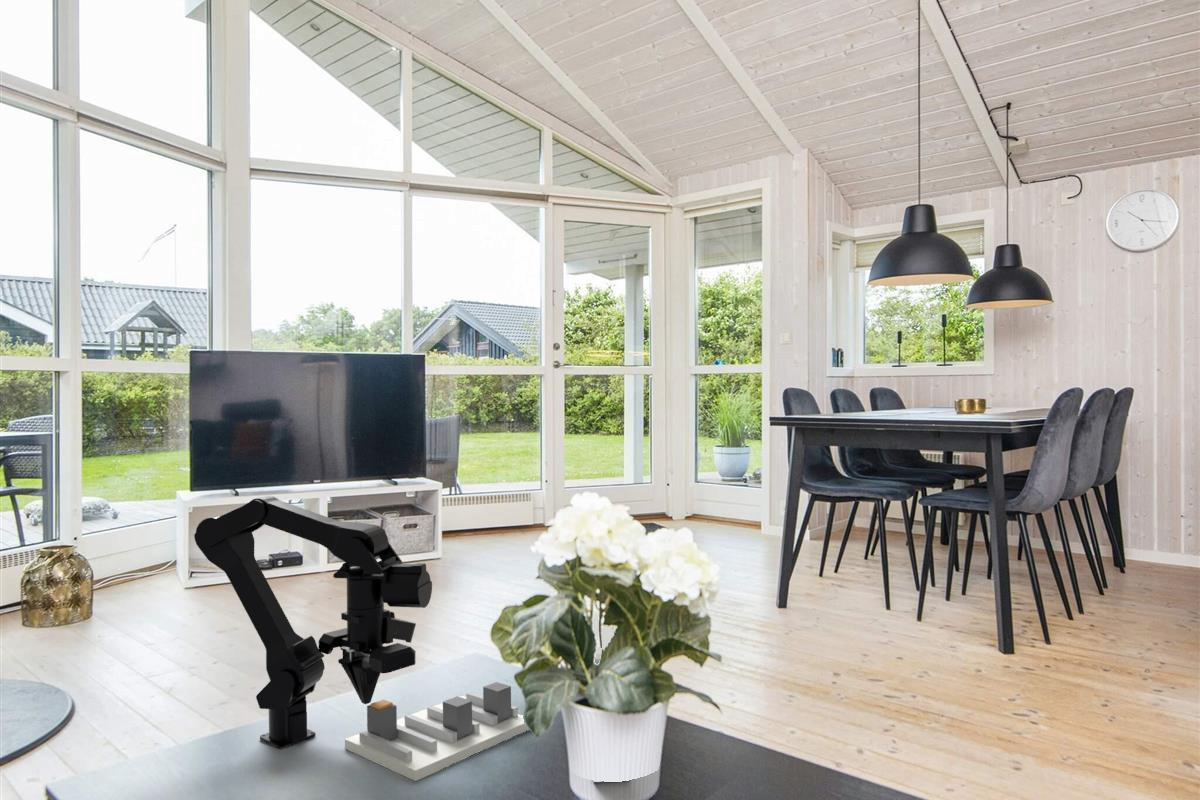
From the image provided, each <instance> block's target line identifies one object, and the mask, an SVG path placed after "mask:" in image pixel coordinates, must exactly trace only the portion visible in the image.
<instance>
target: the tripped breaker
mask: <svg viewBox="0 0 1200 800" xmlns="http://www.w3.org/2000/svg"><path fill="white" fill-rule="evenodd" d="M397 709H398V708H397V705H396V704H394V703H393V702H392V701H389V700H386V699H384V698H383V699H380V700H378V701H376V702H372V703H371V702H370V705H367V706H366V718H367V719H366V720H367V721H366V722H367V723H366V731H367V732H369V733H372V734H374V735H376V736H379V737H381V738H384V739H386V740H388V741H389V740H392V739H394V738H397V720H398V719H397V717H398V716H397V714H398V713H397Z"/></svg>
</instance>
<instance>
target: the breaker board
mask: <svg viewBox="0 0 1200 800" xmlns="http://www.w3.org/2000/svg"><path fill="white" fill-rule="evenodd" d="M459 697H461V698H464V699H467V700H470V701H472V733H471V734H468V735H466V736H463V737H461V738H459V739H457V732H455V731H453V730H450V729H447V728H445V727H443V702H442V703H438V704H436V705H434V706H433V705H432V706H431V705H430V706H428V707H427V708H426V709H422V710H420V711H417V712H414V713H412V714H411V713H410V714H407V715H404V716H403V717H400V718H398V719H397V738H394V739H392V740H389V741H388V740H386V739H384V738H381V737H379V736H376V735H374V734H372V733H369V732H367V730H363V731H361V732H358V734H355V735H352V736H349V737H346V738H344V749H345V750H348V751H349V752H352V753H354V754H356V755H358V756H360V757H362V758H364V759H367V760H369V761H371V762H373V763H375V764H378V765H380V766H383V767H385V768H386V769H388V770H391V771H393V772H394V773H397V774H400V775H401V776H404V777H406V778H408V779H410V780H412V781H414V782H417V781H419V780H421V779H423V778H426V777H429V776H430V775H432V774H435V773H438V772H439V771H441V769H442V770H443V768H444V769H446V768H448V767H450V765H451V764H453V763H455V762H457V761H459V762H461V761H460V760H461V759H463V758H465V757H468V756H470V755H472V754H474V753H476V752H478V751H481V750H484V749H486V748H489V747H491V746H493V745H495V746H497V745H499V744H498V743H500V742H502V741H504V740H506V739H508V738H510V737H513V736H515V735H517V734H520V733H522V732H523V731H525V732H524V733H526V730H527V732H529V731H530V730H528V729H527V727H526V725H525V723H524V719H523V716H524V715H522V714H519V707H518V706H515V705H512V704H511V717H509V718H506V719H504V720H502V721H499V722H498V716H497V715H494V714H492V713H489V712H486V711H484V707H483V695H482V694H478V693H474V692H472V691H469V692H466V693H465V695H460V696H459ZM522 734H523V733H522ZM520 735H521V734H520ZM515 737H516V736H515ZM513 738H514V737H513ZM506 741H507V740H506ZM504 742H505V741H504ZM502 743H503V742H502ZM496 744H497V745H496ZM500 744H501V743H500ZM493 747H494V746H493ZM491 748H492V747H491ZM489 749H490V748H489ZM486 750H487V749H486ZM484 751H485V750H484ZM468 758H469V757H468ZM457 763H458V762H457ZM455 764H456V763H455ZM453 765H454V764H453ZM451 766H452V765H451ZM445 767H446V768H445Z"/></svg>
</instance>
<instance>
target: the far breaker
mask: <svg viewBox="0 0 1200 800" xmlns="http://www.w3.org/2000/svg"><path fill="white" fill-rule="evenodd" d="M482 689H483V692H482V694H483V695H482V696H483V707H484V711H486V712H489V713H492V714H494V715H497V716H498V722H499V721H502V720H504V719H506V718H509V717H511V705H512V686H511V685H507V684H505V683H501V682H498V681H495V682H492V683H491V684H487V685H485V686H483V687H482Z"/></svg>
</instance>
